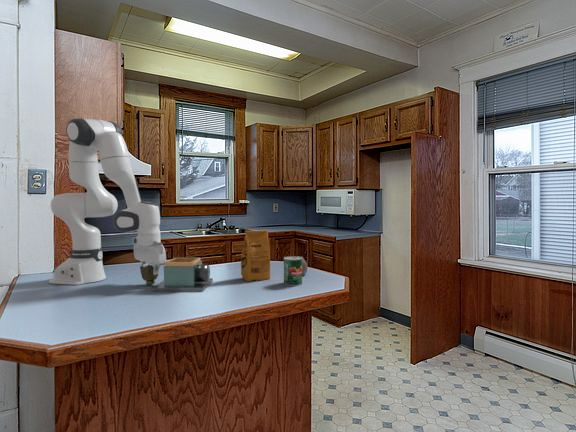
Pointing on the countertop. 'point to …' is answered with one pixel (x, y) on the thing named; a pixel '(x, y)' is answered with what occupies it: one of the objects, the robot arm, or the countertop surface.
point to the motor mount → (184, 276)
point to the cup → (148, 274)
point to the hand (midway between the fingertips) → (150, 272)
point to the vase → (303, 266)
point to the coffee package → (255, 256)
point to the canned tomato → (292, 271)
